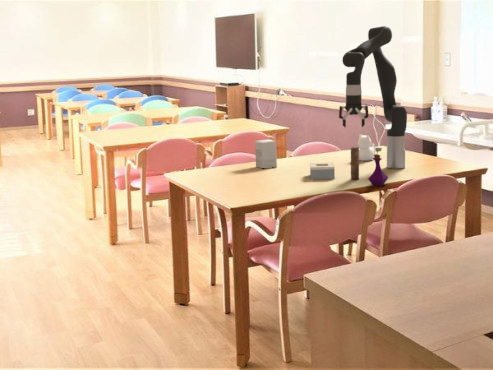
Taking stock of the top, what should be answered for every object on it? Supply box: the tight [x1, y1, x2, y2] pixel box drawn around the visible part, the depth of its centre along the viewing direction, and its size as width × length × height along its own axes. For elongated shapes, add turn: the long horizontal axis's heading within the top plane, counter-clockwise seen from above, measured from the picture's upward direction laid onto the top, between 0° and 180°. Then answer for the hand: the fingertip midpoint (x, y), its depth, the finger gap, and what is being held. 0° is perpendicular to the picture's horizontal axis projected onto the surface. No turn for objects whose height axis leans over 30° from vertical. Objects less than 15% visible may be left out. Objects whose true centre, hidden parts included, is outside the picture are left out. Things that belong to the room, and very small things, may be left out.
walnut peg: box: [350, 146, 360, 181], centre depth 356 cm, size 4×4×16 cm
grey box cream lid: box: [309, 162, 336, 180], centre depth 366 cm, size 12×12×6 cm
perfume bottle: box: [367, 147, 389, 187], centre depth 341 cm, size 8×8×18 cm
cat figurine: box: [357, 133, 377, 162], centre depth 408 cm, size 9×12×15 cm
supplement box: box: [254, 138, 278, 169], centre depth 397 cm, size 9×9×15 cm
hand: (353, 126), depth 353 cm, fingers open, 8 cm apart
